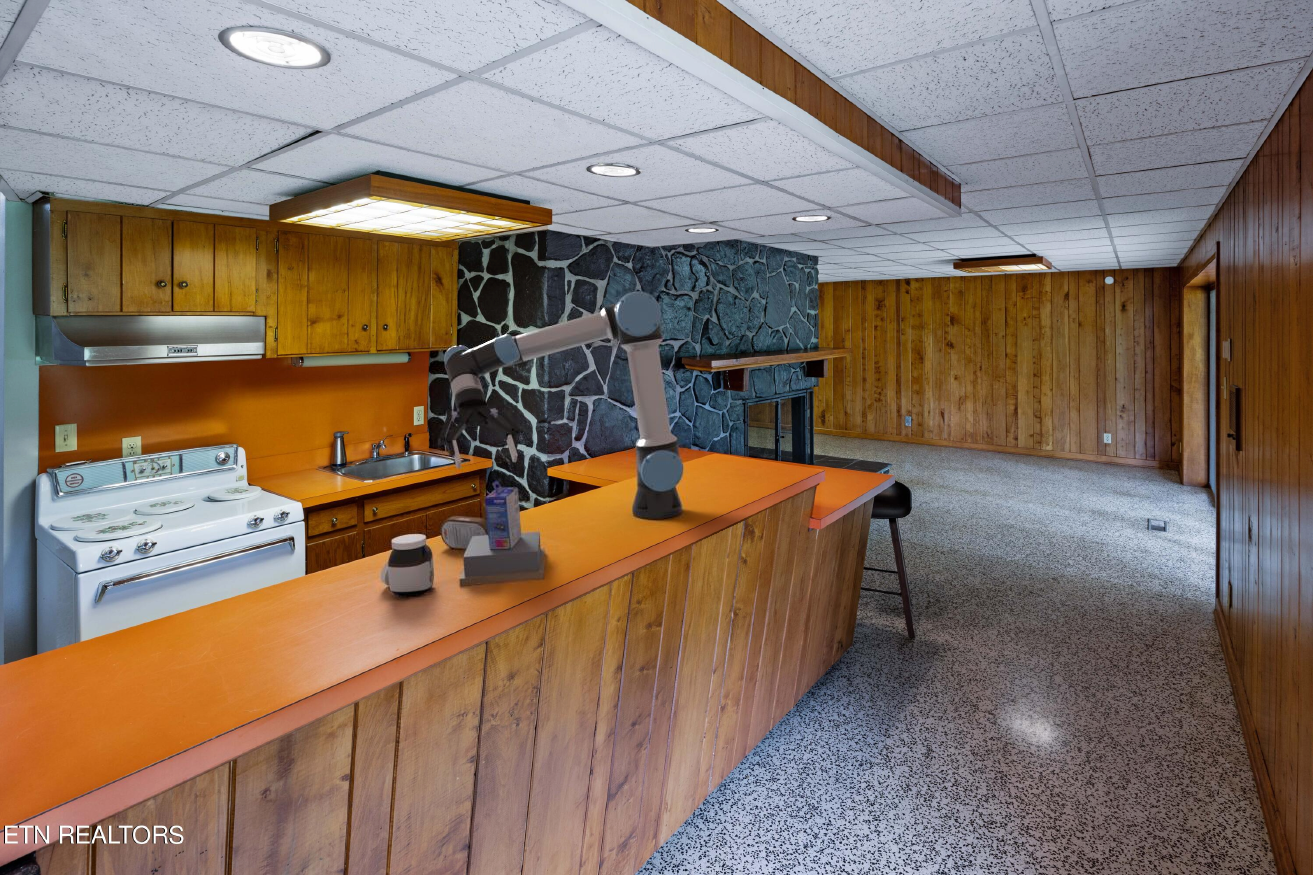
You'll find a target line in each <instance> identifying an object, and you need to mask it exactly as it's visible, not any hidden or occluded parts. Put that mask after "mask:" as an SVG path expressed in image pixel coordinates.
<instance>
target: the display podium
mask: <svg viewBox="0 0 1313 875" xmlns="http://www.w3.org/2000/svg"><path fill="white" fill-rule="evenodd" d="M521 534H522V536H521V538H520V539H519V540H518V541H517V542H516V544H515V545H514V546H513V547H512V548H511V549H490V547H489V538H488V535H484V536H472V538H471V541H470V543H469V545H468V547H467V550H465V552H464V555H463V557H462V560H463V569H462V572H461V574H460V576H459V586H469V585H480V584H481V585H482V584H495V583H509V582H519V581H531V580H532V581H534V580H535V581H536V580H544V579H545V565H546V547H541V531H529V532H521Z"/></svg>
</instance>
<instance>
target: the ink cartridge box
mask: <svg viewBox="0 0 1313 875" xmlns="http://www.w3.org/2000/svg"><path fill="white" fill-rule="evenodd" d="M491 485H492V487H493V488H494V490H492V491H491V492H490V493H489V494H488V495H486V496H485V497H484V506H485V508H484V509H485V517H486V519H485V520H486V521H487V528H488V538H489V547H490V549H511V548H512V547H513V546H514V545H515V544H516V542H517V541H518V540H519V539H520V538H521V536H522V534H521V533H522V525H521V514H520V513H521V512H520V501H519V500H520V499H519V492H518V491H519V489H518V487H516V486H515V487H514V486H513V487H502V485H501V484H500V483H499V481H498V480H495V481H494V482H492V484H491ZM496 486H498V487H496Z"/></svg>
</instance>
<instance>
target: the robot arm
mask: <svg viewBox="0 0 1313 875" xmlns="http://www.w3.org/2000/svg"><path fill="white" fill-rule="evenodd" d="M661 320H662V310H661V307H660V304H659V303H658V301H657V299H656V298H655V297H653V295H652V294H649V293H648V292H645V291H632V292H628V293H626V294H625V295H623V296H622V297H621V298H620V299H619V300H618V301H617V302H615V303H614V304H611V305H608V306H604V307H603V308H602V309H601V311H599V312H597V313H592V314H589V315H585V316H581V317H579V318H575V319H571V320H568V321H564V322H561V323H557V324H553V325H551V326H547V327H546V326H545V327H543V328H540V329H535V330H532V331H528V332H525V333H522V334H518V335H516V336H512V335H510V334H507V333H506V334H504V335H501V336H498V337H497V336H496V337H495V338H493V339H492V340H491V339H490V340H489V341H487V342H485V343H483V344H480V345H478V346H475V347H473V348H469V347H467V346H465V345H463V344H462V345H454V346H452V347H449V348H448V349H447V350H446V352H445V353H444V355H443V361H444V368H445V371H446V373H447V377H448V380H449V384H450V385H449V386H450V387H451V391H452V395H453V398H454V403H455V407H456V408H455V409H456V411H452V409H451V408H450V409H449V408H448V409H446V412H445V420H444V422H443V424H442V428H441V430H440V433H439V436H438V440H437V445H438V446H441V447H442V446H445V449H447V453H448V455H449V457H453V458H454V463H455V466H456V469H457V470H458V469H461V466H462V458H461V456H460V452H459V447H458V443H457V439H458V437H459V436H460V435H461V434H462V432H463V431H464V430H466V428H467V427H468V426H469V427H470V428H474V427H483V426H485V427H487V428H488V429H489V428H490V429H492V430H494V431H495V432H496V433H498V434H500V435H501V436H503V437H504V438H506V444H507V447H508V450H509V454H510V456H511V457H510V458H511V460H512V463H516V462H517V460H518V456H519V455H518V452H517V449H518V447H519V443H518V440H517V439H519V438H520V437H521V433H522V429H521V428H520V427H519V426H518V425H517V424H516V423H515V422H514V421H513V420H512V419H511V418H510V417H509V416H508V415H507V414H506V413H505V412H504V411H503V408H502V407H501V406H500V405H496V407H495V408H490V407H489V406H488V403H487V400H486V396H485V393H484V389H483V387H482V384H481V380H480V377H481V376H484V375H487V374H490V373H492V372H494V371H496V370H499V369H501V368H507V367H510V366H513V365H515V364H519V363H523V362H526V361H528V360H534V359H537V358H541V357H544V356H548V355H550V354H555V353H558V352H561V351H566V350H568V349H572V348H577V347H580V346H584V345H587V344H590V343H594V342H598V341H601V340H605V339H609V340H611V341H613V340H614V341H615V340H619V345H620V347H621V348H623V350H624V351H626V353H627V360H628V366H629V367H628V368H629V374H630V379H631V380H630V381H631V387H632V391H633V392H632V393H633V400H634V405H635V406H634V407H635V412H636V418H637V419H636V421H637V425H638V431H639V438H638V439H637V440H636V441H635V448H634V449H635V457H636V462H635V463H636V479H637V480H636V486H637V487H636V492H635V496H634V499H633V502H632V506H631V509H632V511H631V512H632V515H633V516H634V517H637V518H640V519H648V520H649V519H650V520H661V519H669V518H674V517H677V516H680V515H681V514H682V513H683V504H682V501H681V498H680V496H679V492H678V490H677V485H679V484H680V482H681V481H682V478H683V475H684V463H683V461H682V459H681V456H680V449H679V443H678V437H676V436H675V435H674V434H673V433H672V432H671V425H670V418H669V413H668V404H667V399H666V398H667V397H666V391H665V383H664V377H663V371H662V364H661V363H662V362H661V356H660V349H659V346H660V344H661V343H662V341H663V340H664V338H663V332H662V326H661V325H662V324H661ZM455 418H457V419H458V420H460V421H459V422H458V424H456V426H455V427H454V428H453V430H452V431H451V432H450V434H449V435H448V432H449V430H450V428H451V424H452V422H453V421H455ZM495 418H496V419H495ZM447 435H448V436H447Z"/></svg>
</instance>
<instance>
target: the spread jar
mask: <svg viewBox="0 0 1313 875" xmlns="http://www.w3.org/2000/svg"><path fill="white" fill-rule="evenodd" d="M391 548H392V549H391V552H390V553H389V556H388V559H387V561H386V563H385V564H384V566H383V567H382V569H381V571H380V575H379V576H380V581H381V582H382V583H383V584H384V585H386V586H387V587H389V589H390V592H391V593H392V595H394V596H396V597H399V598H406V599H407V598H417V597H420V596H423V595H426V594H428V593H429V592H430V591H431V590H432V587H433V586H434V585H433V584H434V581H435V568H434V566H435V564H434V554H433V552H432V548H431V547H430V546H429V545H428V544H427V536H426V535H425V534H420V533H413V534H410V533H409V534H404V535H400V536H397V537H394V538H392V539H391Z"/></svg>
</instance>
